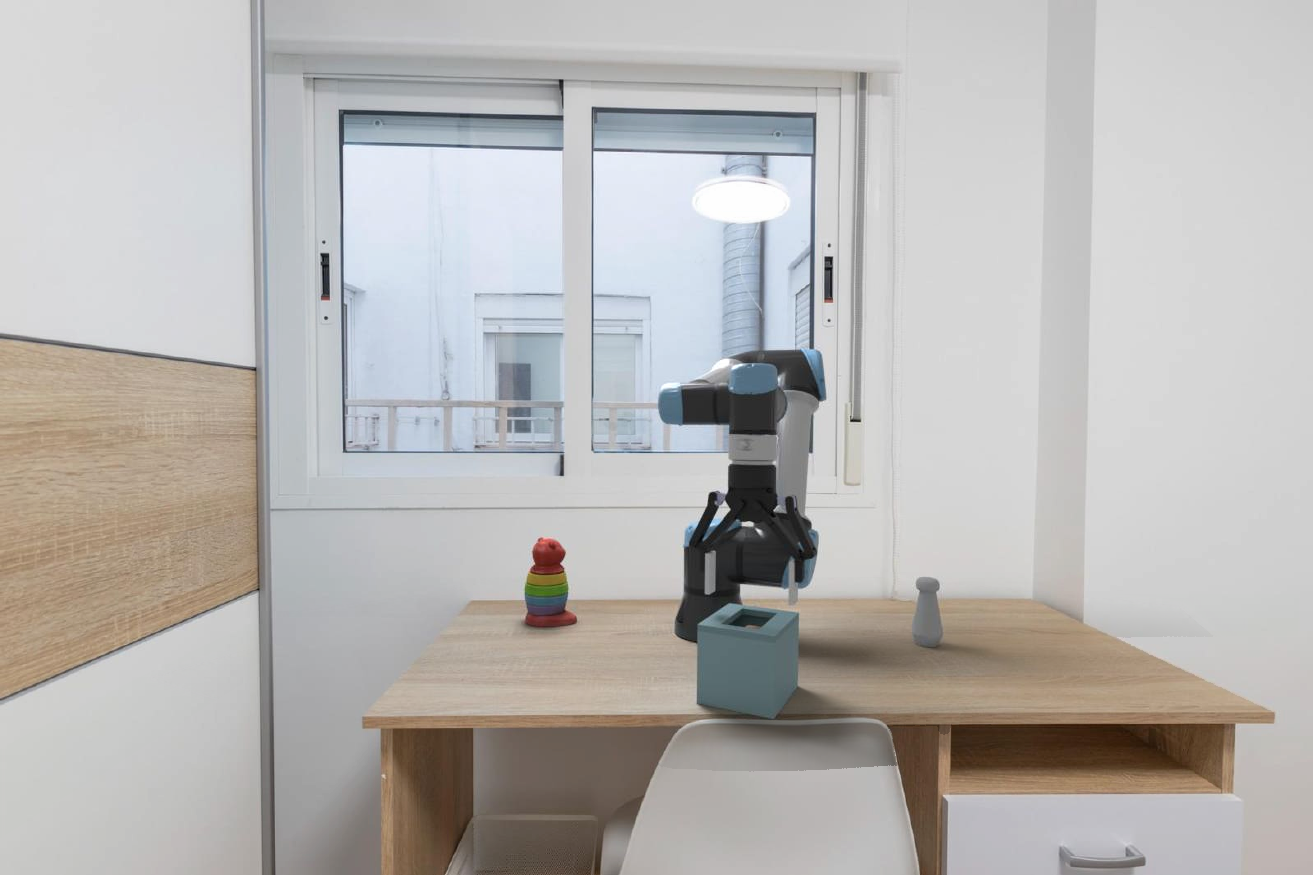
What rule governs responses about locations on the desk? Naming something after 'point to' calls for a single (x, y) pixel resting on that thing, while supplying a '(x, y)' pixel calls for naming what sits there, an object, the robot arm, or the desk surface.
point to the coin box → (748, 659)
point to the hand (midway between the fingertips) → (750, 598)
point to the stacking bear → (547, 586)
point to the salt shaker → (927, 614)
